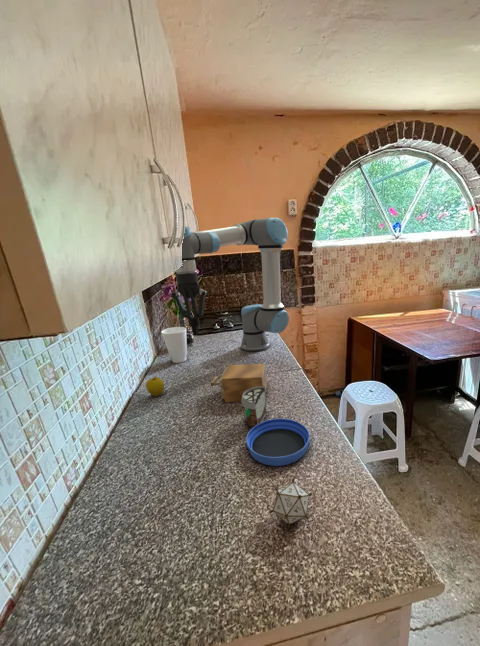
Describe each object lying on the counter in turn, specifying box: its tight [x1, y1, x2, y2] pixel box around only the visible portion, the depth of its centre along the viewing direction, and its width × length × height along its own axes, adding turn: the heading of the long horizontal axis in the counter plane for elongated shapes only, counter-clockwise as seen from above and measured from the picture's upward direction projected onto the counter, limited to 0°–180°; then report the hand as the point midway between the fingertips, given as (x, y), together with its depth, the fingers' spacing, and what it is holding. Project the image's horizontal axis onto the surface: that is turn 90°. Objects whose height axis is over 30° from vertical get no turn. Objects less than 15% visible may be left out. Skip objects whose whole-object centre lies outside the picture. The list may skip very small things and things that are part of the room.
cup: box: [161, 326, 188, 364], centre depth 155 cm, size 12×12×16 cm
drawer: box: [209, 367, 227, 400], centre depth 119 cm, size 18×11×8 cm, turn 89°
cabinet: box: [222, 363, 268, 403], centre depth 119 cm, size 15×13×10 cm
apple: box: [145, 376, 165, 398], centre depth 121 cm, size 6×6×8 cm
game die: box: [268, 477, 314, 530], centre depth 65 cm, size 9×8×10 cm
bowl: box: [245, 418, 311, 467], centre depth 89 cm, size 18×18×4 cm
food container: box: [240, 386, 267, 429], centre depth 101 cm, size 12×6×10 cm, turn 168°
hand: (196, 334), depth 121 cm, fingers closed
